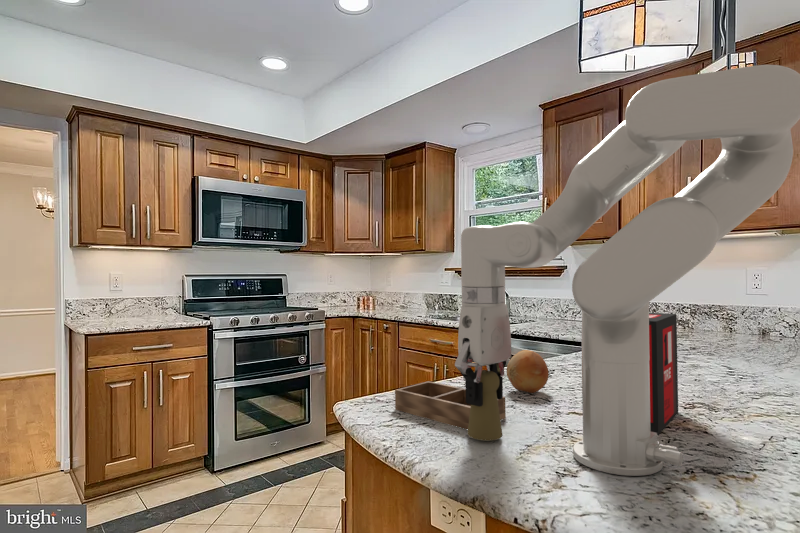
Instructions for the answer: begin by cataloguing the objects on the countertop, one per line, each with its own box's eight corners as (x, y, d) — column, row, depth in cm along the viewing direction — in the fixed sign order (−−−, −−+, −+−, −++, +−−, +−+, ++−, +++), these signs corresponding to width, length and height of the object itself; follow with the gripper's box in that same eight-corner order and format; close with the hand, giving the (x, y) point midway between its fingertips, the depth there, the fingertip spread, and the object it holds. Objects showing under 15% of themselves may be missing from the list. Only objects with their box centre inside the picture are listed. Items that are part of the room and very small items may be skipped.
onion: (498, 392, 115) (497, 350, 115) (522, 385, 122) (521, 345, 122) (533, 400, 108) (532, 355, 108) (556, 392, 114) (556, 350, 115)
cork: (502, 441, 80) (501, 375, 80) (466, 439, 81) (465, 374, 81) (502, 429, 86) (501, 368, 86) (468, 427, 87) (467, 367, 87)
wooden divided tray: (505, 418, 95) (505, 397, 95) (473, 431, 88) (473, 408, 88) (428, 399, 110) (428, 381, 110) (395, 409, 102) (395, 389, 102)
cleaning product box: (658, 435, 84) (656, 321, 85) (605, 425, 90) (604, 318, 90) (678, 413, 97) (676, 314, 97) (631, 405, 103) (629, 312, 103)
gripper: (471, 300, 75) (472, 416, 75) (527, 295, 87) (529, 395, 87) (434, 298, 81) (436, 407, 80) (493, 294, 93) (494, 388, 92)
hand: (484, 400), depth 84 cm, fingers closed on cork, 5 cm apart
